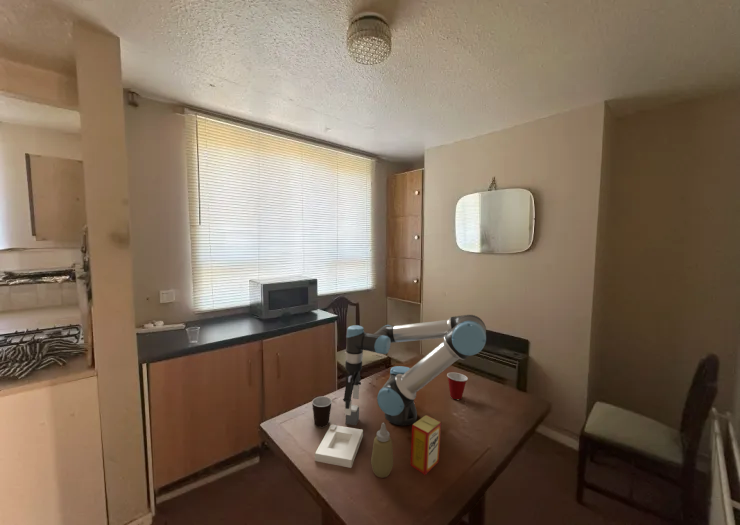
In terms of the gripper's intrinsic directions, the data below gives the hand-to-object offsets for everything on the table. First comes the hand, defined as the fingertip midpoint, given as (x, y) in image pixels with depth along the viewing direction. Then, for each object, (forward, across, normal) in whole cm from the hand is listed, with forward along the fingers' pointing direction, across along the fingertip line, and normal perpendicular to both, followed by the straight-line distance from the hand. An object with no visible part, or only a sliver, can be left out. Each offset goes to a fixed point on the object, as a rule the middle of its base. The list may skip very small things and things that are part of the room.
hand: (351, 406), depth 137 cm
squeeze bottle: (+7, +26, +18) cm, 33 cm away
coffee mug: (+8, +3, -12) cm, 15 cm away
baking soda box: (+7, +18, +34) cm, 39 cm away
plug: (+7, 0, 0) cm, 7 cm away
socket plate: (+7, +18, 0) cm, 19 cm away
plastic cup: (+7, -35, +48) cm, 60 cm away
